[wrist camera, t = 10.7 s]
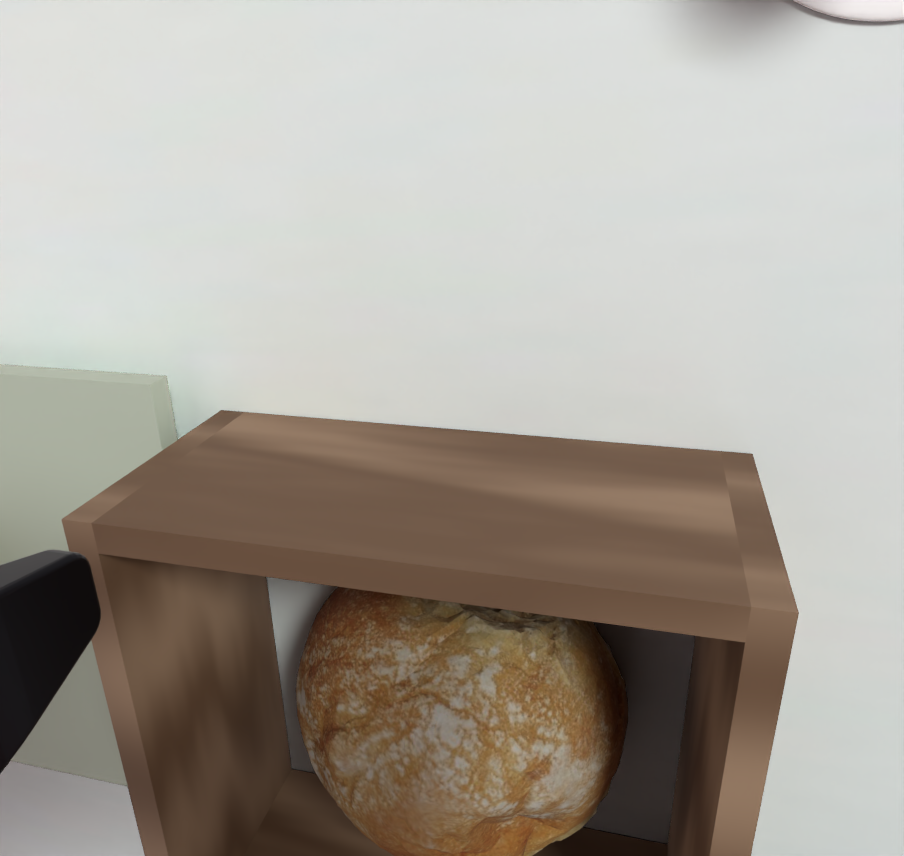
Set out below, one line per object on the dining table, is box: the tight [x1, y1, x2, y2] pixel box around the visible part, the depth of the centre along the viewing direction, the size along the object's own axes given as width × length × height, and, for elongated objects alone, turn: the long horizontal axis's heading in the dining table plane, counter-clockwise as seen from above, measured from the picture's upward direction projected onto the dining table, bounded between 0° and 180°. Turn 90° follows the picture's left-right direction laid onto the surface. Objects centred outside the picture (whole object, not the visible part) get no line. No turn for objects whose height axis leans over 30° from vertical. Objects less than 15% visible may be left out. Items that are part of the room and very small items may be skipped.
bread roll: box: [296, 587, 628, 856], centre depth 23 cm, size 10×10×8 cm
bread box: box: [61, 410, 799, 856], centre depth 21 cm, size 16×16×7 cm
